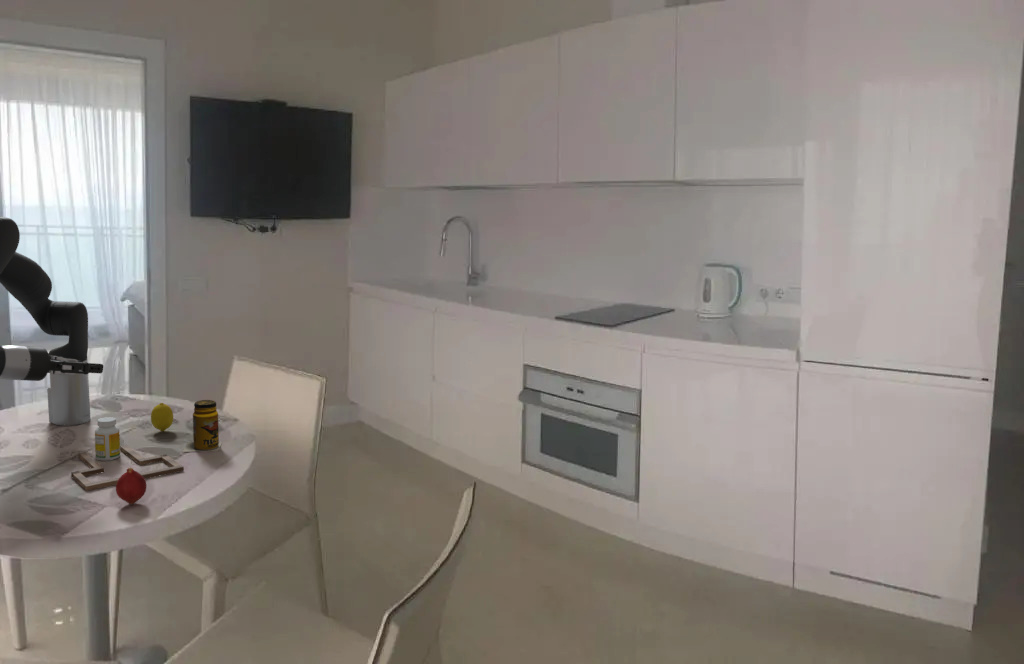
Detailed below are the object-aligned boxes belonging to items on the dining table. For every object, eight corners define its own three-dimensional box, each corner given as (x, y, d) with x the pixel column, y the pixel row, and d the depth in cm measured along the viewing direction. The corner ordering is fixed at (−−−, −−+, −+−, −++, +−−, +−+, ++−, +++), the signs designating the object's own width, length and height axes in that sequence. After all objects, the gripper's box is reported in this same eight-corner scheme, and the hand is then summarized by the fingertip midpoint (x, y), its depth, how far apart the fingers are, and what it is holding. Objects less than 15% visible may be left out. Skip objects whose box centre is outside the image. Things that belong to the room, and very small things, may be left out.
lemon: (177, 429, 220) (176, 400, 219) (167, 435, 215) (166, 406, 213) (158, 427, 221) (157, 399, 219) (147, 433, 215) (146, 404, 214)
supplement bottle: (95, 462, 193) (93, 423, 191) (96, 455, 198) (94, 417, 196) (120, 459, 195) (118, 421, 193) (120, 452, 200) (119, 415, 198)
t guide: (55, 461, 192) (55, 457, 192) (147, 445, 206) (147, 441, 206) (86, 490, 175) (86, 486, 175) (183, 470, 190) (183, 466, 189)
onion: (123, 498, 172) (121, 462, 171) (151, 498, 173) (149, 462, 171) (112, 509, 166) (110, 472, 165) (141, 509, 167) (139, 472, 166)
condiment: (218, 451, 204) (217, 405, 202) (182, 452, 202) (181, 406, 200) (222, 442, 211) (221, 397, 209) (187, 443, 209) (186, 398, 207)
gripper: (38, 348, 173) (111, 353, 187) (6, 343, 181) (77, 348, 194) (34, 383, 173) (107, 386, 186) (1, 376, 181) (74, 379, 194)
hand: (92, 367), depth 190 cm, fingers open, 8 cm apart
